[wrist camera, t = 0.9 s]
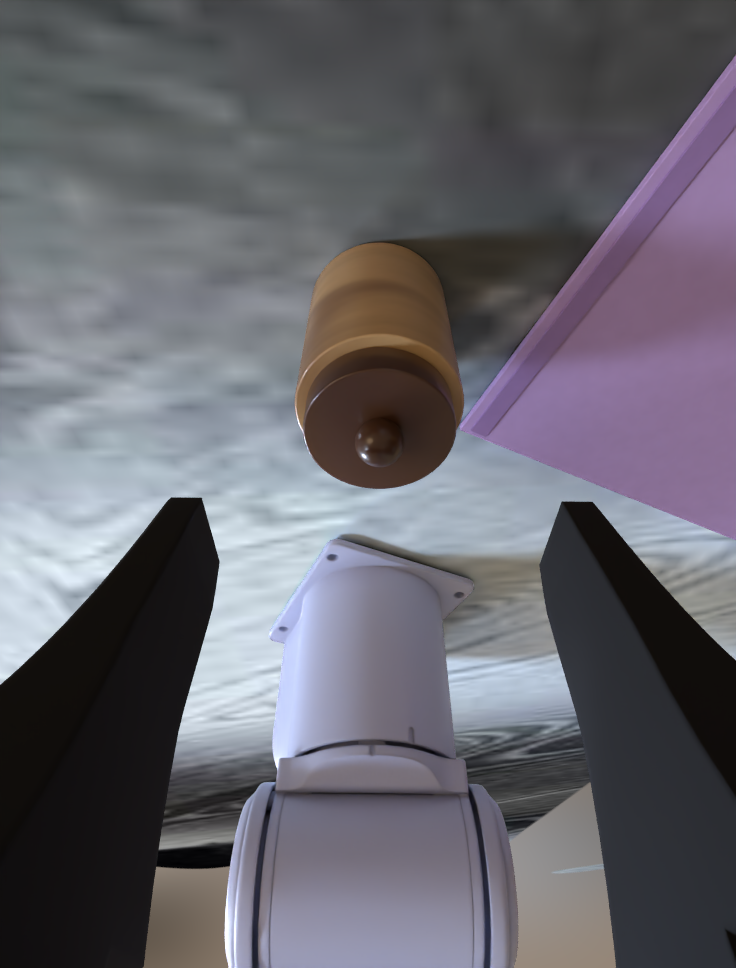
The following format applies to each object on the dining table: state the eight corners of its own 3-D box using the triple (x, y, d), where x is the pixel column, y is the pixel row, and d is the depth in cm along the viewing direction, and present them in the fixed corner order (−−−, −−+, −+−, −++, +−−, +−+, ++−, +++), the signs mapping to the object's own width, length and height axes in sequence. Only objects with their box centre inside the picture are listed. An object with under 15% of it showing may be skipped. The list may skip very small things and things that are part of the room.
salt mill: (405, 383, 21) (416, 540, 15) (292, 337, 20) (261, 490, 14) (470, 278, 18) (511, 424, 13) (343, 216, 17) (330, 349, 11)
